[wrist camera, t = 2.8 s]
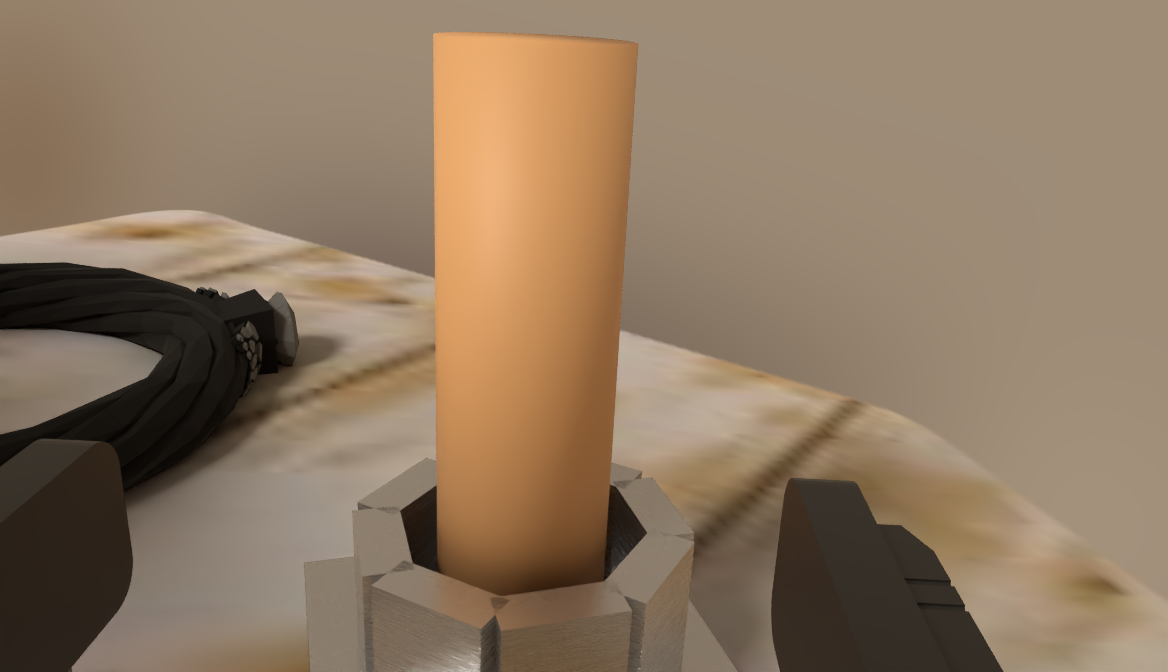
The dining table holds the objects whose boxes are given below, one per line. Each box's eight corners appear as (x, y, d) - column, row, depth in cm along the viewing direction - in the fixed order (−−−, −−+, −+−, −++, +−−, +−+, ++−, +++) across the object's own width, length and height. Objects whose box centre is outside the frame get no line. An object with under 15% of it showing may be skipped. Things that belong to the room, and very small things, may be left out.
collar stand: (323, 897, 20) (310, 704, 18) (305, 590, 29) (296, 446, 28) (791, 791, 23) (818, 619, 21) (635, 546, 33) (645, 415, 31)
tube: (452, 719, 23) (452, 41, 18) (427, 611, 27) (419, 30, 22) (620, 689, 24) (669, 48, 19) (572, 590, 28) (601, 36, 23)
